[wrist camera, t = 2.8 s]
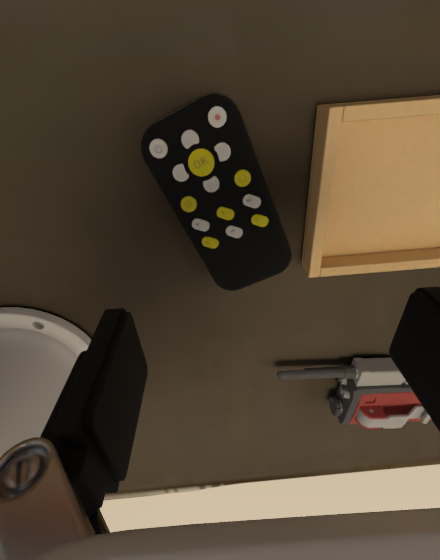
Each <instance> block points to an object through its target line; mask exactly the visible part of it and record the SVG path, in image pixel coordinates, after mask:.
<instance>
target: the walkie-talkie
mask: <svg viewBox="0 0 440 560" xmlns="http://www.w3.org/2000/svg"><path fill="white" fill-rule="evenodd" d="M277 376H278V378H279V379H281V380H291V379H315V378H338V381H339V382H340V385H339V388H338V390H337V393H336V396H332V397H331V398H330V409H331V412H332V414H333V415H334V416H337V417H338V419H339V422H340V424H342V425H353V424H359V425H360V426H361V427H363V428H365V429H380V427H383V428H384V429H389V428H402V427H403V425H404V424H405V423H406V422H416V421H422V423H425V424H426V423H427V422H428V421H432V419H431V418H430V416H429V415H428V413H427V412H426V410H425V409H424V407H423V406H422V404H421V403H420V401H419V400H418V398H417V397H416V395H415V394H414V392H413V391H412V389H411V388H410V386H409V385H408V383H407V382H406V380H405V378H404V377H403V375H402V374H401V372H400V371H399V369H398V368H397V366H396V365H395V363H394V362H393V360H392V359H391V358H363V359H362V358H353V361H352V363H351V365H342V366H341V367H325V368H305V369H304V370H295V371H280V372H277Z"/></svg>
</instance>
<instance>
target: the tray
mask: <svg viewBox="0 0 440 560" xmlns="http://www.w3.org/2000/svg"><path fill="white" fill-rule="evenodd" d="M301 264H302V266H303V268H304V270H305V271H306V273H307V275H308V277H309V278H313V277H325V276H337V275H349V274H361V273H374V272H386V271H398V270H410V269H422V268H434V267H440V95H431V96H419V97H407V98H395V99H383V100H371V101H360V102H348V103H336V104H324V105H318V106H317V114H316V124H315V134H314V144H313V153H312V163H311V173H310V183H309V193H308V202H307V212H306V222H305V232H304V242H303V251H302V261H301Z"/></svg>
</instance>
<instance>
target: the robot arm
mask: <svg viewBox="0 0 440 560" xmlns="http://www.w3.org/2000/svg"><path fill="white" fill-rule="evenodd" d="M389 353H390V357H391V359H392V360H393V362H394V363H395V365H396V366H397V368H398V369H399V371H400V372H401V374H402V375H403V377H404V378H405V380H406V382H407V383H408V385H409V386H410V388H411V389H412V391H413V392H414V394H415V395H416V397H417V398H418V400H419V401H420V403H421V404H422V406H423V407H424V409H425V410H426V412H427V413H428V415H429V416H430V418H431V419H432V421H433V422H434V424H435V425H436V427H437V428H438V430H439V431H440V287H425V288H418V289H416V290H415V292H414V293H412V294H411V295H410V297H409V300H408V302H407V305H406V307H405V310H404V312H403V315H402V317H401V320H400V323H399V325H398V328H397V330H396V333H395V335H394V338H393V340H392V343H391V346H390V349H389ZM146 378H147V363H146V360H145V357H144V353H143V350H142V347H141V343H140V340H139V337H138V334H137V330H136V327H135V324H134V321H133V317H132V315H131V313H130V312H126V311H125V309H123V308H120V309H107V310H105V311H104V313H103V315H102V318H101V320H100V322H99V324H98V326H97V329H96V331H95V333H94V335H93V338H92V340H91V339H90V338H89V337H88V336H87V335H86V334H85V333H84V332H83V331H81V330H80V329H79V328H77V327H76V326H75V325H73V324H71V323H69V322H68V321H66V320H64V319H62V318H60V317H57V316H54V315H52V314H49V313H46V312H42V311H38V310H34V309H28V308H20V307H2V308H0V560H440V508H433V509H432V508H431V509H415V510H399V511H384V512H369V513H352V514H337V515H322V516H306V517H291V518H278V519H262V520H247V521H233V522H220V523H204V524H190V525H179V526H170V527H169V526H168V527H157V528H146V529H135V530H126V531H119V532H112V533H110V531H109V529H108V527H107V525H106V523H105V520H104V518H103V516H102V514H101V512H100V509H99V508H100V507H101V506H102V504H103V500H104V496H105V493H117V490H118V486H119V481H123V480H124V479H125V477H126V474H127V470H128V465H129V460H130V456H131V451H132V446H133V441H134V436H135V431H136V427H137V422H138V417H139V412H140V407H141V402H142V397H143V393H144V388H145V383H146Z"/></svg>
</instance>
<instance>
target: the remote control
mask: <svg viewBox="0 0 440 560" xmlns="http://www.w3.org/2000/svg"><path fill="white" fill-rule="evenodd" d="M141 151H142V156H143V158H144V161H145V163H146V164H147V166H148V168H149V170H150V171H151V173H152V175H153V176H154V178H155V180H156V182H157V183H158V185H159V187H160V188H161V190H162V192H163V194H164V195H165V197H166V199H167V200H168V202H169V204H170V206H171V207H172V209H173V211H174V212H175V214H176V216H177V218H178V219H179V221H180V223H181V224H182V226H183V228H184V230H185V231H186V233H187V235H188V236H189V238H190V240H191V242H192V243H193V245H194V247H195V248H196V250H197V252H198V253H199V255H200V257H201V259H202V260H203V262H204V264H205V265H206V267H207V269H208V271H209V272H210V274H211V276H212V277H213V279H214V281H215V282H216V284H217V285H218V286H220V287H221V288H223V289H225V290H230V291H232V290H239V289H242V288H244V287H247V286H249V285H252V284H254V283H257V282H259V281H262V280H264V279H267V278H269V277H272V276H274V275H277V274H279V273H281V272H282V271H284V270H285V269H286V268H287V266H288V265H289V263H290V261H291V255H292V254H291V249H290V246H289V244H288V241H287V238H286V236H285V233H284V230H283V227H282V225H281V222H280V219H279V217H278V214H277V211H276V209H275V206H274V203H273V201H272V198H271V195H270V192H269V190H268V187H267V184H266V182H265V179H264V176H263V174H262V171H261V168H260V166H259V163H258V160H257V157H256V155H255V152H254V149H253V147H252V144H251V141H250V139H249V136H248V133H247V130H246V128H245V125H244V122H243V120H242V117H241V114H240V112H239V110H238V108H237V106H236V104H235V103H234V102H233V101H232V100H231V99H230V98H228V97H227V96H225V95H223V94H219V93H209V94H206V95H204V96H201V97H200V98H198V99H196V100H194V101H193V102H191V103H189V104H187V105H185V106H184V107H182V108H180V109H178V110H177V111H175V112H173V113H171V114H170V115H168V116H166V117H164V118H162V119H160V120H159V121H157V122H155V123H154V124H153V125H151V126H150V127H149V128H148V129H147V130H146V132H145V133H144V135H143V138H142V143H141Z"/></svg>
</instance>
